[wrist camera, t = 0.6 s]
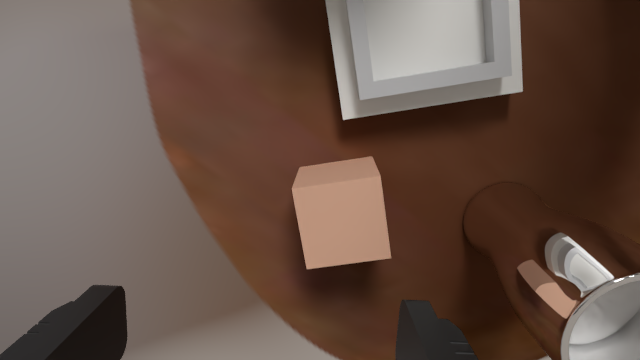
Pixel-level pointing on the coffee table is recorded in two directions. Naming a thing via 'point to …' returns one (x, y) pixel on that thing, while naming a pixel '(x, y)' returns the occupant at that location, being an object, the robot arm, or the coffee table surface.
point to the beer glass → (560, 273)
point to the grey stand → (423, 52)
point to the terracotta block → (341, 213)
